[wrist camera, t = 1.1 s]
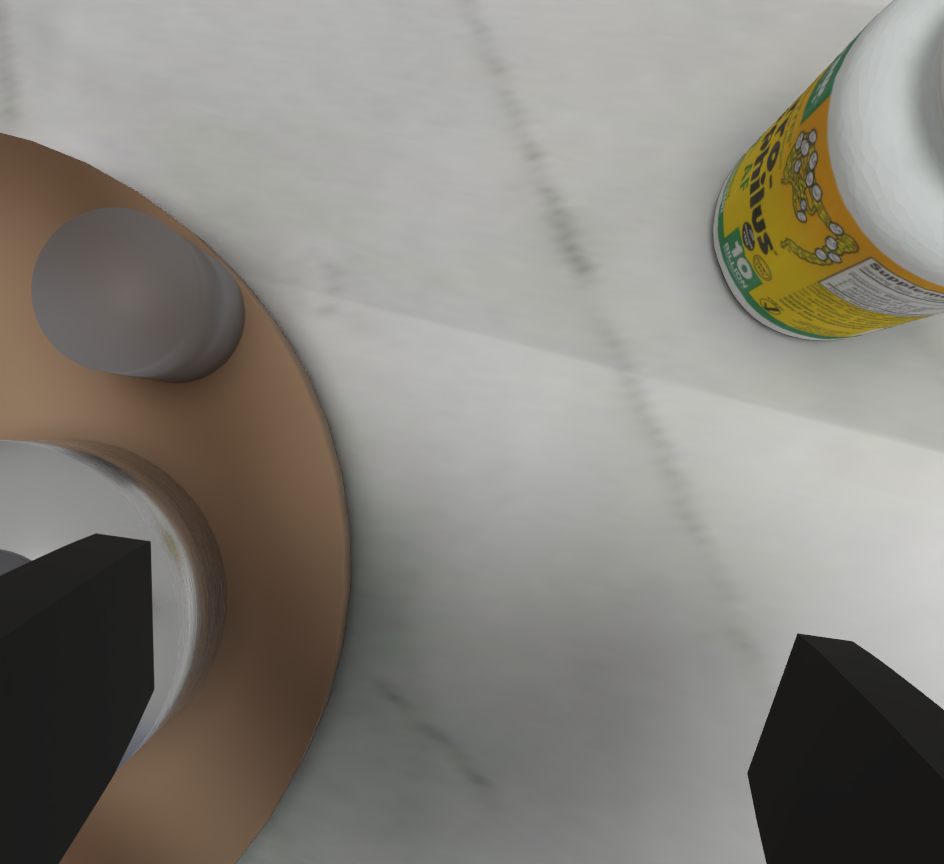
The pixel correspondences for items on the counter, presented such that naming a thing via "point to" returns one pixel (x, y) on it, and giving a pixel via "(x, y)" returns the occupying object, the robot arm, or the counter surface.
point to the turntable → (183, 483)
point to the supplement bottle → (847, 190)
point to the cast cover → (131, 516)
